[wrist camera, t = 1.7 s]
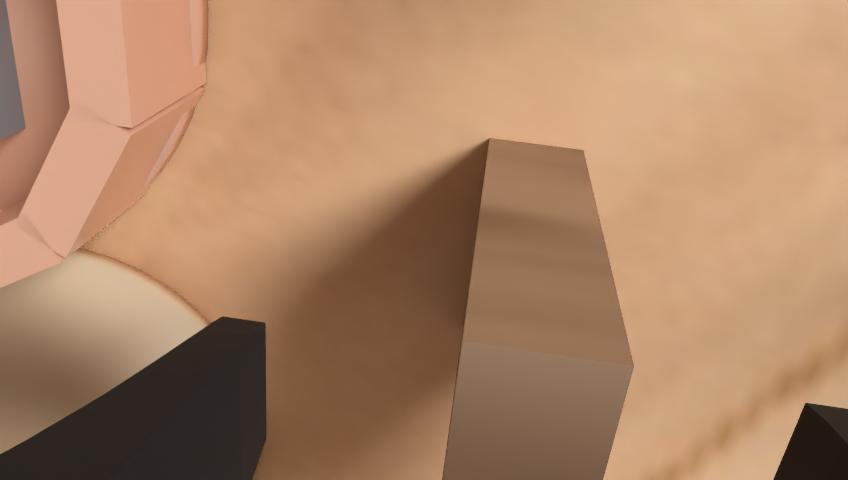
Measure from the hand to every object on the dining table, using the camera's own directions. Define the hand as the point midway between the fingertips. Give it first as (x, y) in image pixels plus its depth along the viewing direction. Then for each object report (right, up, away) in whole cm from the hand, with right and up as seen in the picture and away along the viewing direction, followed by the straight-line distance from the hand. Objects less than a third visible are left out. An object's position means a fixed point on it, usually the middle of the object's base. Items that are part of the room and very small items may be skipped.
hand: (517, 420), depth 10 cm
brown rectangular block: (+1, +2, +5) cm, 6 cm away
